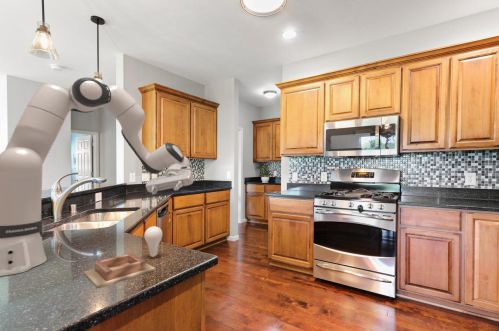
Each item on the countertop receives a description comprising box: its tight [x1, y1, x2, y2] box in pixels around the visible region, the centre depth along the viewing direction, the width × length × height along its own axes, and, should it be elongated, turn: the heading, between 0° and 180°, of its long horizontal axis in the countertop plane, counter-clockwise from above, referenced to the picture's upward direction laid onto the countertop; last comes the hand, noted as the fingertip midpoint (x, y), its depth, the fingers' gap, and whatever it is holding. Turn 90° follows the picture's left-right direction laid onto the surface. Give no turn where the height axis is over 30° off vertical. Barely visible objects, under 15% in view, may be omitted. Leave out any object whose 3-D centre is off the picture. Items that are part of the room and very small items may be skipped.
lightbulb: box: [143, 226, 163, 258], centre depth 90 cm, size 6×6×11 cm
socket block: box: [83, 253, 156, 289], centre depth 77 cm, size 16×14×3 cm
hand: (164, 190), depth 101 cm, fingers open, 8 cm apart
